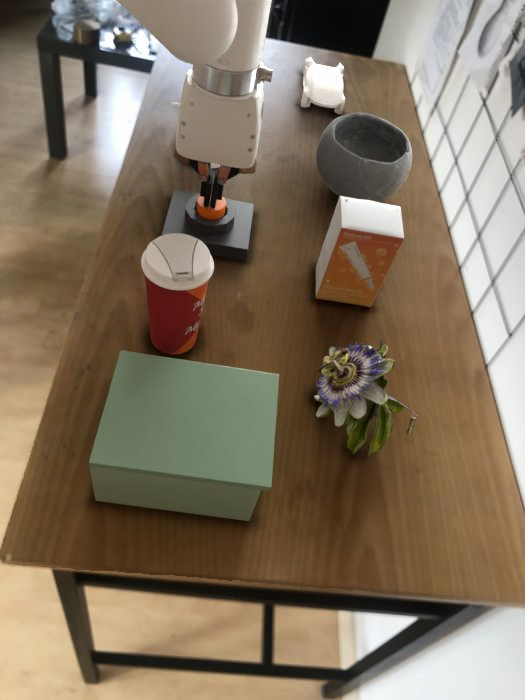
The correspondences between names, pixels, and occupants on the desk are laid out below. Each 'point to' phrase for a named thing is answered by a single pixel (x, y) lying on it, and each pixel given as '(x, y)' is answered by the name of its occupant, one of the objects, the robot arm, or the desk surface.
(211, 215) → the button
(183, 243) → the paper cup
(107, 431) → the lid
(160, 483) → the box
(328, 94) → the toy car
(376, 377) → the passion flower
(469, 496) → the desk surface
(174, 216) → the button block
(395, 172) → the bowl
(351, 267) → the small box
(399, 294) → the desk surface
